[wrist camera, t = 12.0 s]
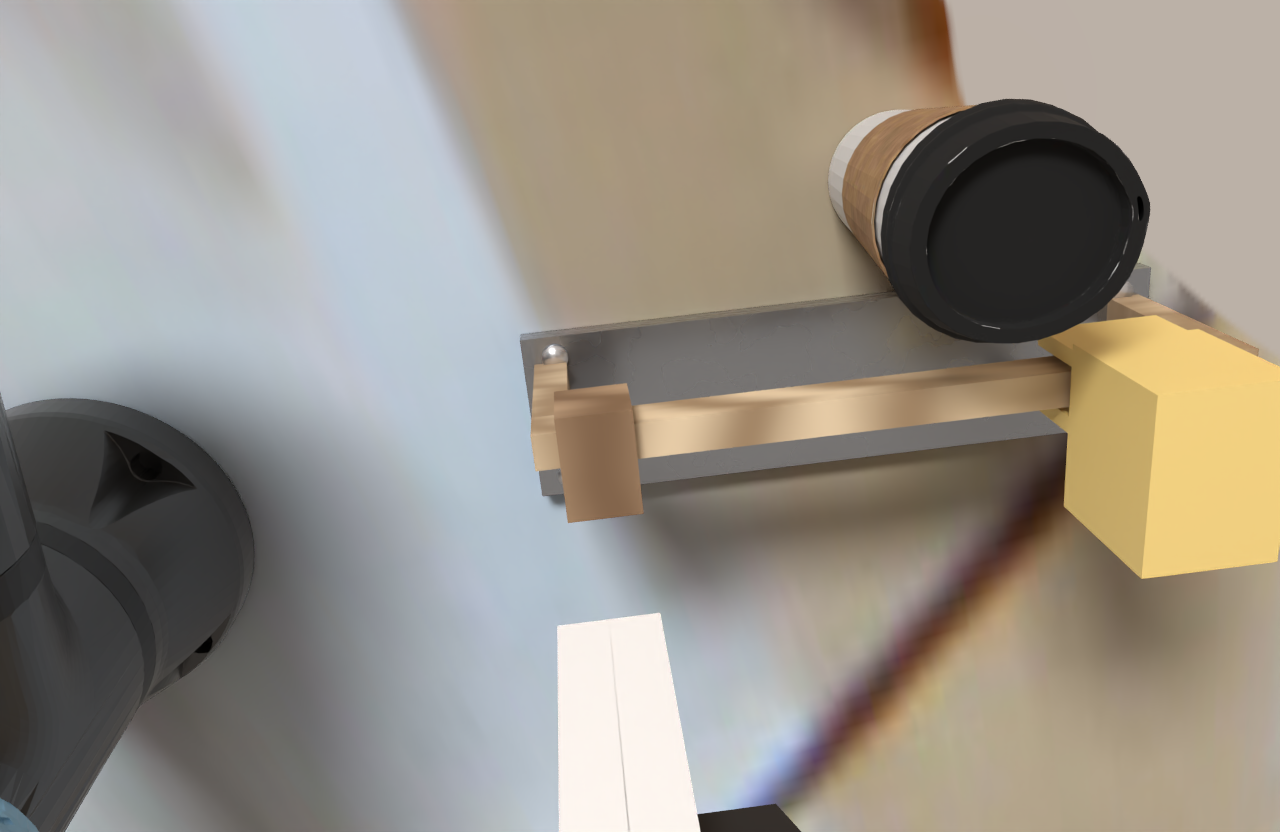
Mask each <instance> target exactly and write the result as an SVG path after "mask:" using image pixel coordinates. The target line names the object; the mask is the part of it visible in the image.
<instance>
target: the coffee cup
mask: <svg viewBox="0 0 1280 832" xmlns="http://www.w3.org/2000/svg"><path fill="white" fill-rule="evenodd" d="M828 186H829V195H830V198H831V202H832V205H833V207H834V209H835V211H836V213H837V215H838V216H839V218H840V219H841V220H842V221H843V223H844V224H845V225H846V226H847V227H848V228H849V230H850V231H851V232H852V233H853V234H854V236H855V237H856V238H857V240H858V241H859V242H860V243H861V245H862V246H863V247H864V248H865V250H866V251H867V252H868V253H869V255H870V256H871V257H872V259H873V260H874V261H875V262H876V264H877V265H878V266H879V267H880V269H881V270H882V271H883V272H884V274H885V275H886V276H887V277H888V279H889V281H890V283H891V284H892V286H893V288H894V290H895V292H896V294H897V295H898V297H899V299H900V300H901V301H902V302H903V303H904V305H905V306H906V307H907V308H908V309H909V310H910V312H911V313H912V314H913V315H914V316H916V317H917V318H918V319H920V320H921V321H922V322H924V323H925V324H926V325H928V326H929V327H931V328H933V329H934V330H936V331H938V332H941V333H943V334H945V335H948V336H950V337H953V338H955V339H960V340H965V341H970V342H975V343H1023V342H1029V341H1035V340H1041V339H1044V338H1047V337H1050V336H1053V335H1056V334H1059V333H1062V332H1064V331H1066V330H1068V329H1070V328H1072V327H1074V326H1076V325H1078V324H1080V323H1082V322H1084V321H1085V320H1087V319H1088V318H1089V317H1091V316H1092V315H1094V314H1095V313H1097V312H1098V311H1100V310H1101V309H1102V308H1104V307H1105V306H1106V305H1107V304H1108V303H1109V302H1110V301H1111V300H1112V299H1113V298H1114V297H1115V296H1116V295H1117V294H1118V293H1119V292H1120V290H1121V289H1122V287H1123V286H1124V284H1125V283H1126V282H1127V280H1128V279H1129V277H1130V276H1131V274H1132V271H1133V269H1134V267H1135V265H1136V263H1137V261H1138V259H1139V256H1140V253H1141V250H1142V247H1143V244H1144V239H1145V235H1146V231H1147V226H1148V222H1149V216H1150V202H1149V198H1148V195H1147V192H1146V190H1145V188H1144V185H1143V183H1142V181H1141V179H1140V177H1139V175H1138V173H1137V171H1136V170H1135V168H1134V166H1133V164H1132V163H1131V161H1130V160H1129V158H1128V157H1127V156H1126V155H1125V153H1124V152H1123V151H1122V150H1121V149H1120V148H1119V146H1118V145H1116V144H1115V143H1114V142H1112V141H1111V140H1109V139H1108V138H1107V137H1106V136H1104V135H1103V134H1101V133H1099V132H1098V131H1096V130H1095V129H1094V128H1093V127H1092V126H1090V125H1089V124H1088V123H1087V122H1086V121H1084V120H1083V119H1082V118H1080V117H1078V116H1075V115H1073V114H1071V113H1069V112H1067V111H1065V110H1063V109H1060V108H1057V107H1055V106H1053V105H1050V104H1046V103H1042V102H1038V101H1034V100H1026V99H1003V100H998V101H992V102H987V103H981V104H979V105H970V106H956V107H941V108H927V109H916V110H891V111H886V112H880V113H877V114H875V115H872V116H870V117H868V118H866V119H864V120H863V121H861V122H860V123H858V124H857V125H856V126H854V127H853V128H852V129H851V130H850V131H849V132H848V133H847V134H846V135H845V137H844V138H843V139H842V141H841V142H840V143H839V145H838V147H837V149H836V151H835V153H834V155H833V158H832V161H831V165H830V168H829V177H828Z"/></svg>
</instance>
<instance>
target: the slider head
mask: <svg viewBox="0 0 1280 832" xmlns="http://www.w3.org/2000/svg"><path fill="white" fill-rule="evenodd" d="M1038 345H1039V346H1040V347H1042V348H1043V349H1045V350H1046V351H1048V352H1049V353H1051V354H1052V355H1054V356H1056V357H1057V358H1059V359H1060V360H1062V361H1063V362H1065V363H1066V364H1068V365H1069V366H1071V367H1072V369H1071V387H1070V405H1069V407H1065V408H1056V409H1048V410H1040V412H1042V413H1043V414H1044V415H1045V416H1047V417H1048V418H1049V419H1050V420H1052V421H1053V422H1054V423H1055V424H1057V425H1058V426H1059V427H1061V428H1062V429H1063V430H1064V431H1066V432H1067V433H1068V440H1067V458H1066V476H1065V493H1064V507H1065V508H1066V509H1067V510H1068V511H1069V512H1070V513H1072V514H1073V515H1074V516H1075V517H1076V518H1077V519H1078V520H1079V521H1080V522H1081V523H1082V524H1083V525H1084V526H1085V527H1086V528H1088V529H1089V530H1090V531H1091V532H1092V533H1093V534H1094V535H1095V536H1096V537H1097V538H1098V539H1099V540H1100V541H1101V542H1103V543H1104V544H1105V545H1106V546H1107V547H1108V548H1109V549H1110V550H1111V551H1112V552H1113V553H1114V554H1115V555H1116V556H1117V557H1119V558H1120V559H1121V560H1122V561H1123V562H1124V563H1125V564H1126V565H1127V566H1128V567H1129V568H1130V569H1131V570H1132V571H1133V572H1135V573H1136V574H1137V575H1138V576H1139V577H1140V578H1141V579H1145V578H1153V577H1161V576H1169V575H1177V574H1185V573H1192V572H1200V571H1208V570H1216V569H1224V568H1231V567H1239V566H1247V565H1255V564H1263V563H1271V562H1277V559H1278V552H1279V545H1280V367H1279V366H1277V365H1275V364H1272V363H1270V362H1268V361H1266V360H1264V359H1262V358H1260V357H1257V356H1255V355H1253V354H1251V353H1249V352H1247V351H1245V350H1242V349H1240V348H1238V347H1236V346H1234V345H1232V344H1230V343H1227V342H1225V341H1223V340H1221V339H1219V338H1217V337H1215V336H1212V335H1210V334H1208V333H1206V332H1204V331H1202V330H1200V329H1194V330H1186V329H1184V328H1182V327H1180V326H1178V325H1176V324H1173V323H1171V322H1169V321H1167V320H1165V319H1163V318H1161V317H1159V316H1157V315H1152V316H1144V317H1135V318H1127V319H1118V320H1110V321H1101V322H1093V323H1084V324H1078V325H1076V326H1074V327H1072V328H1070V329H1068V330H1066V331H1064V332H1062V333H1059V334H1056V335H1053V336H1050V337H1047V338H1044V339H1041V340H1038Z"/></svg>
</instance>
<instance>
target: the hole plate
mask: <svg viewBox="0 0 1280 832" xmlns="http://www.w3.org/2000/svg"><path fill="white" fill-rule="evenodd" d="M1150 272H1151V267H1148V266H1146V265H1143V264H1141V263H1136V265H1135V267H1134V269H1133V271H1132V274H1131V276H1130V277H1129V279H1128V280H1127V282H1126V283H1125V284H1124V286H1123V287H1122V289H1121V290H1120V292H1119V293H1118V294H1117V295H1116V296H1115V297H1114V298H1122V297H1131V296H1132V295H1137V294H1139V295H1141V296H1143V297H1146V298H1148V296H1149V284H1150ZM1114 298H1113V299H1114ZM1107 306H1108V304H1107V305H1106V306H1105V307H1104V308H1102V309H1101V310H1100V311H1098V312H1097V313H1095V314H1094V315H1092V316H1091V317H1089V318H1088V319H1087V320H1085V321H1084V322H1082V323H1080V324H1084V323H1093V322H1101V321H1106V320H1107ZM520 344H521V350H522V357H523V364H524V371H525V378H526V385H527V392H528V399H529V406H530V413H531V419H532V401H533V382H534V365H537V364H544V365H548V364H557V363H565V362H566V363H567V370H568V378H569V385H570V390H572V389H581V388H589V387H598V386H606V385H615V384H623V383H627V386H628V391H629V396H630V400H631V405H632V406H634V405H643V404H651V403H660V402H668V401H676V400H685V399H693V398H702V397H710V396H719V395H727V394H735V393H744V392H752V391H761V390H769V389H778V388H786V387H794V386H803V385H811V384H820V383H828V382H837V381H845V380H853V379H862V378H870V377H879V376H887V375H896V374H904V373H912V372H921V371H929V370H938V369H946V368H955V367H963V366H971V365H980V364H988V363H997V362H1005V361H1014V360H1022V359H1030V358H1039V357H1047V356H1054V355H1052V354H1051V353H1049V352H1048V351H1046V350H1045V349H1043V348H1042V347H1040V346H1039V345H1038V340H1035V341H1029V342H1023V343H975V342H970V341H965V340H960V339H955V338H953V337H950V336H948V335H945V334H943V333H941V332H938V331H936V330H934V329H933V328H931V327H929V326H928V325H926V324H925V323H924V322H922V321H921V320H920V319H918V318H917V317H916V316H914V315H913V314H912V313H911V312H910V310H909V309H908V308H907V307H906V306H905V305H904V303H903V302H902V301H901V300H900V299H899V297H898V295H897V294H896V292H895V291H893V292H884V293H876V294H867V295H858V296H850V297H841V298H832V299H824V300H815V301H806V302H798V303H789V304H780V305H772V306H763V307H754V308H746V309H737V310H728V311H720V312H711V313H702V314H694V315H685V316H676V317H668V318H659V319H650V320H642V321H633V322H624V323H616V324H607V325H598V326H590V327H581V328H572V329H564V330H555V331H546V332H538V333H529V334H521V336H520ZM1058 433H1067V432H1066V431H1064V430H1063V429H1062V428H1061V427H1059V426H1058V425H1057V424H1055V423H1054V422H1053V421H1052V420H1050V419H1049V418H1048V417H1047V416H1045V415H1044V414H1043V413H1042V412H1040V411H1031V412H1023V413H1015V414H1007V415H998V416H990V417H982V418H974V419H965V420H957V421H949V422H940V423H932V424H924V425H916V426H907V427H899V428H891V429H882V430H874V431H866V432H858V433H849V434H841V435H833V436H824V437H816V438H808V439H800V440H791V441H783V442H775V443H766V444H758V445H750V446H742V447H733V448H725V449H717V450H708V451H700V452H692V453H684V454H675V455H667V456H659V457H651V458H642V459H638V466H639V476H640V484H648V483H656V482H664V481H672V480H681V479H689V478H697V477H705V476H713V475H722V474H730V473H738V472H746V471H755V470H763V469H771V468H779V467H787V466H796V465H804V464H812V463H820V462H828V461H837V460H845V459H853V458H861V457H870V456H878V455H886V454H894V453H902V452H911V451H919V450H927V449H935V448H943V447H952V446H960V445H968V444H976V443H985V442H993V441H1001V440H1009V439H1017V438H1026V437H1034V436H1042V435H1050V434H1058ZM539 475H540V482H541V489H542V496H549V495H557V494H564V490H563V482H562V475H561V468H559V469H551V470H543V471H539Z"/></svg>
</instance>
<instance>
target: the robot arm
mask: <svg viewBox="0 0 1280 832" xmlns="http://www.w3.org/2000/svg"><path fill="white" fill-rule="evenodd" d="M253 567H254V544H253V536H252V531H251V527H250V523H249V520H248V516H247V513H246V511H245V508H244V506H243V503H242V501H241V499H240V497H239V495H238V493H237V492H236V490H235V488H234V487H233V485H232V483H231V482H230V480H229V479H228V478H227V476H226V475H225V473H224V472H223V471H222V470H221V468H220V467H219V466H218V465H217V464H216V463H215V462H214V460H213V459H212V458H211V457H210V456H209V455H208V454H207V453H206V452H205V451H203V450H202V449H201V448H200V447H199V446H198V445H197V444H195V443H194V442H193V441H192V440H190V439H189V438H188V437H186V436H185V435H183V434H182V433H180V432H179V431H177V430H176V429H174V428H173V427H171V426H169V425H167V424H166V423H164V422H162V421H160V420H158V419H156V418H154V417H151V416H149V415H147V414H144V413H142V412H139V411H137V410H134V409H131V408H128V407H125V406H121V405H117V404H113V403H108V402H103V401H97V400H88V399H50V400H43V401H36V402H32V403H27V404H23V405H20V406H17V407H13V408H11V409H8V410H6V411H5V408H4V404H3V401H2V397H1V394H0V832H65V831H66V829H67V827H68V825H69V824H70V822H71V820H72V819H73V817H74V815H75V814H76V812H77V810H78V808H79V807H80V805H81V803H82V802H83V800H84V798H85V797H86V795H87V793H88V791H89V790H90V788H91V786H92V785H93V783H94V781H95V780H96V778H97V776H98V774H99V773H100V771H101V769H102V768H103V766H104V764H105V763H106V761H107V759H108V758H109V756H110V754H111V753H112V751H113V749H114V748H115V746H116V744H117V743H118V741H119V739H120V738H121V736H122V734H123V733H124V731H125V729H126V728H127V726H128V724H129V723H130V721H131V720H132V718H133V716H134V714H135V712H136V711H137V709H138V707H139V706H140V705H142V704H143V703H145V702H146V701H148V700H149V699H151V698H152V697H154V696H155V695H157V694H158V693H159V692H161V691H162V690H164V689H165V688H167V687H168V686H170V685H171V684H173V683H174V682H176V681H178V680H179V679H180V678H182V677H183V676H185V675H186V674H188V673H189V672H191V671H192V670H193V669H194V668H196V667H197V666H198V665H200V664H201V663H202V662H203V661H204V660H205V659H206V658H207V657H208V656H209V655H210V654H211V653H212V652H213V651H214V650H215V649H216V647H217V646H218V645H219V644H220V642H221V641H222V640H223V639H224V637H225V635H226V634H227V632H228V631H229V629H230V627H231V625H232V624H233V622H234V620H235V618H236V616H237V614H238V612H239V611H240V609H241V607H242V605H243V603H244V601H245V598H246V596H247V594H248V590H249V587H250V584H251V579H252V575H253ZM557 637H558V759H559V832H801V831H800V830H799V829H798V828H797V827H796V825H795V824H794V823H793V822H792V821H791V820H790V819H789V818H788V817H787V816H786V815H785V813H784V812H783V811H782V810H781V809H780V808H779V807H778V806H777V805H776V804H771V805H764V806H756V807H749V808H741V809H734V810H726V811H719V812H712V813H704V814H697V810H696V804H695V799H694V794H693V788H692V783H691V777H690V772H689V766H688V761H687V756H686V750H685V745H684V739H683V734H682V728H681V723H680V718H679V712H678V707H677V701H676V696H675V690H674V685H673V679H672V674H671V669H670V663H669V658H668V652H667V647H666V641H665V636H664V631H663V625H662V620H661V614H660V613H655V614H647V615H639V616H631V617H623V618H615V619H607V620H600V621H592V622H584V623H576V624H568V625H560V626H557Z"/></svg>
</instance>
